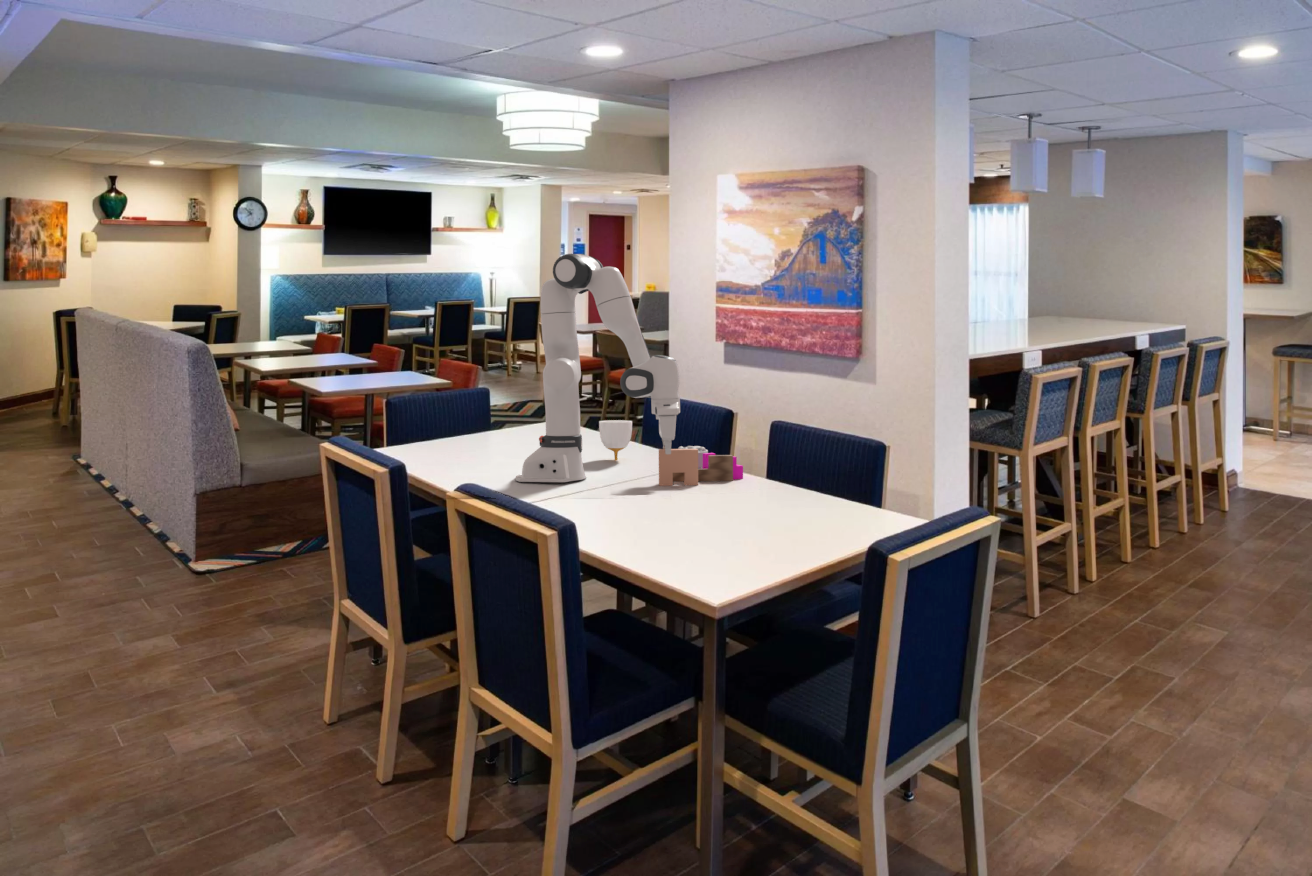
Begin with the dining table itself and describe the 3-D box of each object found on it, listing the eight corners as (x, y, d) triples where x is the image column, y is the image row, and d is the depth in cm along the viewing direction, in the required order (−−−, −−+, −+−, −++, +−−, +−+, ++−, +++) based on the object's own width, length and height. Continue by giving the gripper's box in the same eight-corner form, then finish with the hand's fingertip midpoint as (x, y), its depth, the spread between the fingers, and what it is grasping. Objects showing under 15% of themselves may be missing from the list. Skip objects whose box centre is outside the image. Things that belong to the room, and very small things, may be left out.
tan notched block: (698, 485, 300) (698, 449, 299) (659, 485, 299) (659, 450, 298) (697, 483, 303) (697, 448, 302) (658, 484, 302) (658, 449, 302)
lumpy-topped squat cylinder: (710, 469, 340) (710, 445, 340) (702, 474, 328) (702, 448, 327) (681, 469, 343) (681, 444, 342) (672, 473, 331) (672, 448, 330)
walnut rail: (670, 481, 309) (670, 456, 308) (669, 480, 311) (669, 455, 310) (732, 480, 310) (732, 455, 309) (731, 479, 312) (731, 455, 311)
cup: (613, 466, 350) (612, 419, 349) (639, 469, 343) (639, 420, 342) (592, 470, 341) (592, 421, 339) (619, 472, 334) (618, 422, 332)
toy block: (743, 479, 315) (743, 456, 314) (726, 480, 312) (726, 457, 311) (718, 474, 328) (718, 452, 328) (702, 475, 325) (702, 453, 325)
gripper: (654, 406, 309) (655, 449, 310) (657, 410, 288) (658, 456, 290) (673, 405, 309) (675, 449, 310) (678, 409, 289) (679, 455, 290)
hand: (667, 452), depth 300 cm, fingers open, 8 cm apart
